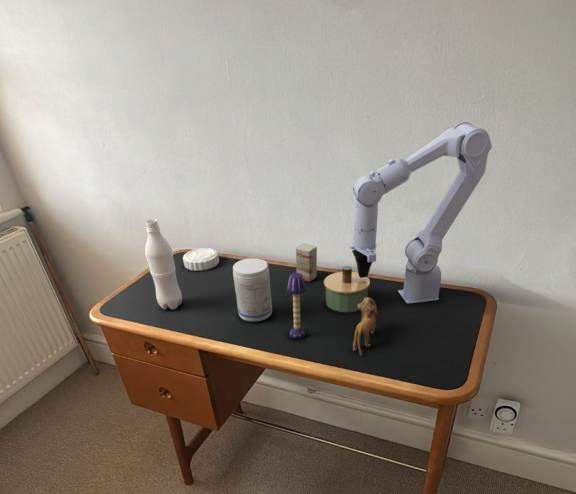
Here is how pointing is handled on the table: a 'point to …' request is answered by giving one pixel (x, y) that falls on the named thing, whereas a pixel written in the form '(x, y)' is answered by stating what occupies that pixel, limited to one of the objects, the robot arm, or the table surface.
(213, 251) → the mooncake
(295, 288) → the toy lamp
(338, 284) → the lid
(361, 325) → the lion figurine
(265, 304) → the supplement tub
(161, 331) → the table surface
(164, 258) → the water bottle
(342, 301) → the canister
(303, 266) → the beige rectangular box
